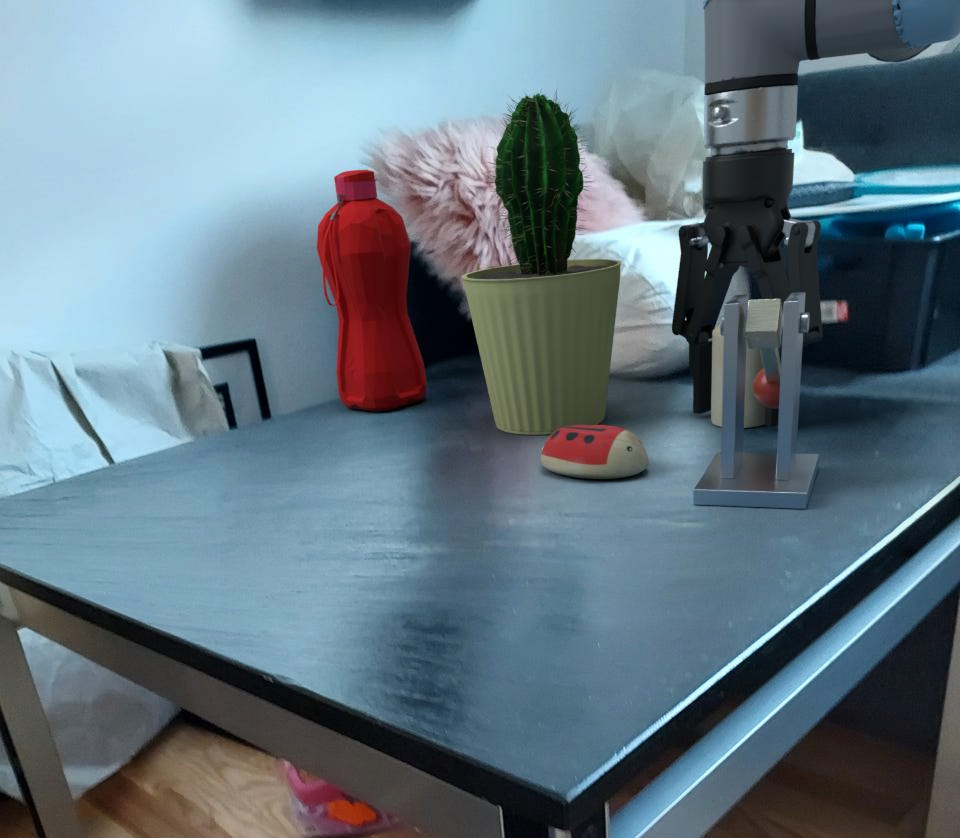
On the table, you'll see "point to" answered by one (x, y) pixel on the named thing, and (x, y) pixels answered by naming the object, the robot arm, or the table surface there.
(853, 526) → the table surface
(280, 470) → the table surface
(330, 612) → the table surface
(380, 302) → the water bottle
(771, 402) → the lever
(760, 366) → the candle
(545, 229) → the potted cactus
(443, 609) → the table surface
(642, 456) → the ladybug figurine
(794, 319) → the bracket
